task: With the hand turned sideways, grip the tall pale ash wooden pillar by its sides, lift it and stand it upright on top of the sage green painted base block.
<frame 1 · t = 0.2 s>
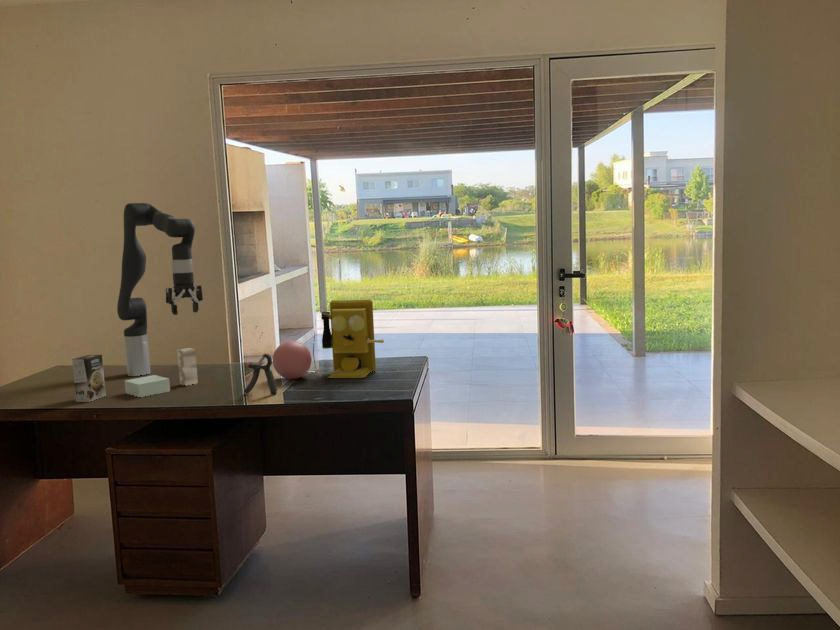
hand: (185, 313, 270), 29 cm above the table, tool pointing down, fingers open, 8 cm apart
vintage telephone: (347, 375, 285), on the table
coffee box: (91, 399, 261), on the table
base block: (148, 392, 268), on the table
balloon: (295, 378, 285), on the table
hand grip strengthener: (260, 394, 258), on the table
ash pillar: (189, 384, 280), on the table
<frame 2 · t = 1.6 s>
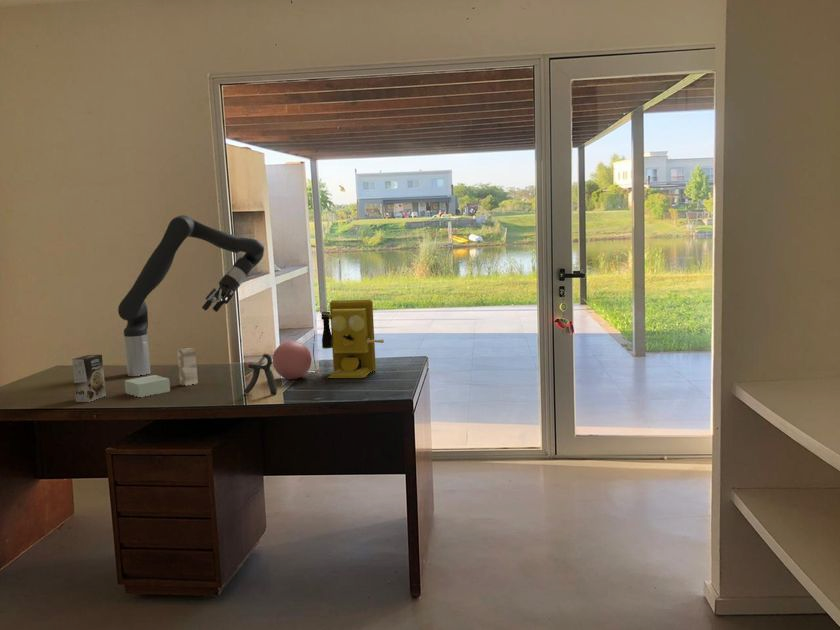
hand: (209, 309, 285), 29 cm above the table, tool tilted 45°, fingers open, 8 cm apart
nothing on the table moved.
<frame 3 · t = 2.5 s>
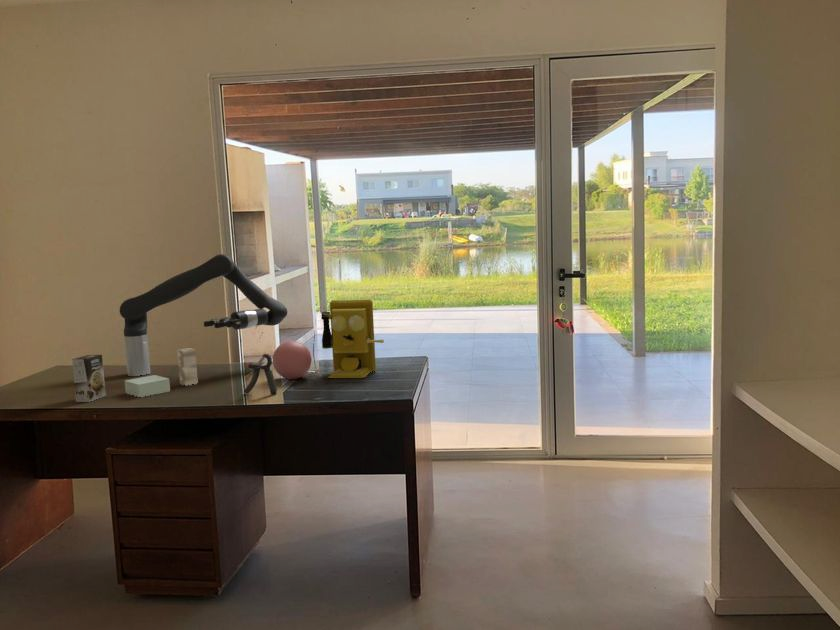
hand: (209, 325, 285), 22 cm above the table, tool horizontal, fingers open, 8 cm apart
nothing on the table moved.
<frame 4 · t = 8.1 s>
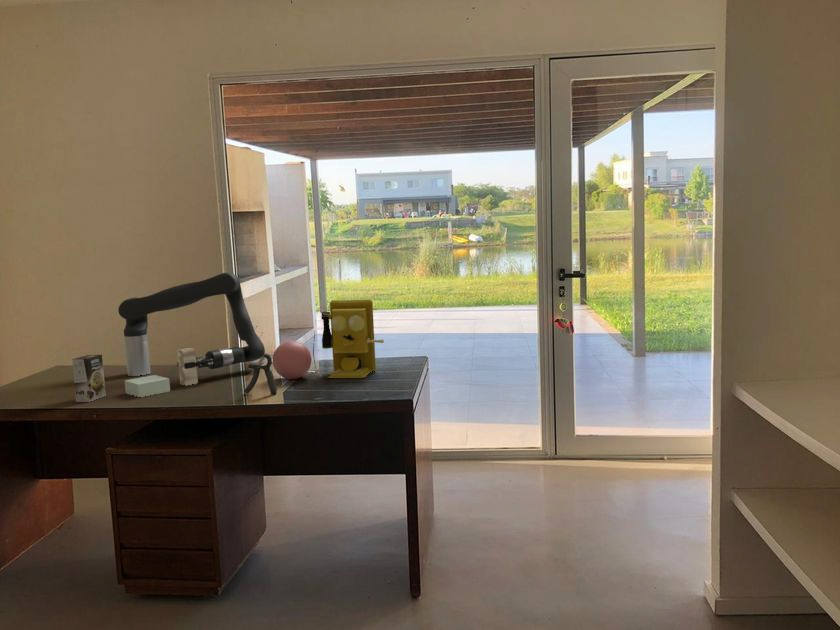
hand: (181, 365, 277), 8 cm above the table, tool horizontal, fingers closed on ash pillar, 5 cm apart
ash pillar: (189, 384, 280), on the table, touching gripper
everything else where it was.
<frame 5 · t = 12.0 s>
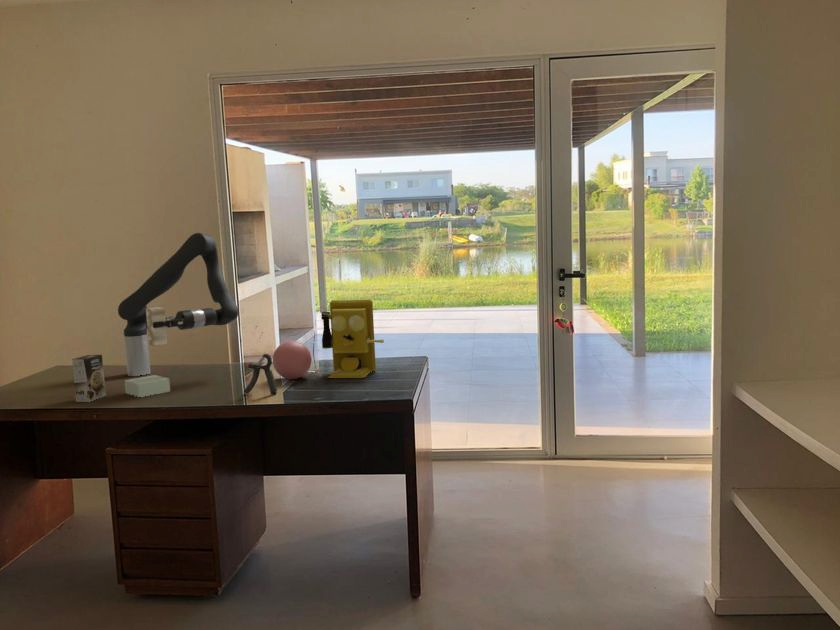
hand: (149, 324, 267), 26 cm above the table, tool horizontal, fingers closed on ash pillar, 5 cm apart
ash pillar: (158, 344, 270), point 18 cm above the table, touching gripper
everything else where it was.
when the fingers open (14 cm above the table, at t = 15.9 s): ash pillar drops 1 cm, resting on base block.
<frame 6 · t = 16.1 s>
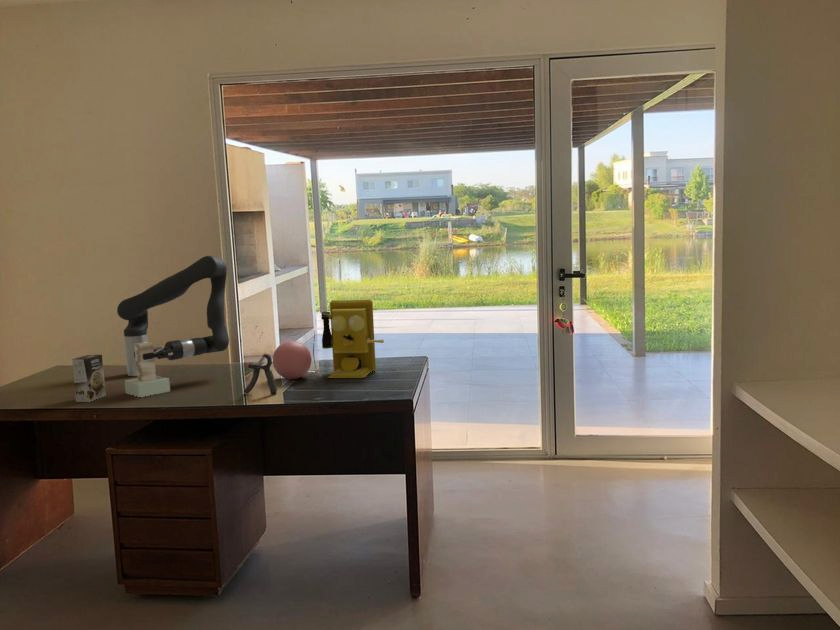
hand: (138, 356, 265), 14 cm above the table, tool horizontal, fingers open, 7 cm apart
ash pillar: (146, 379, 268), point 5 cm above the table, touching base block
everything else where it was.
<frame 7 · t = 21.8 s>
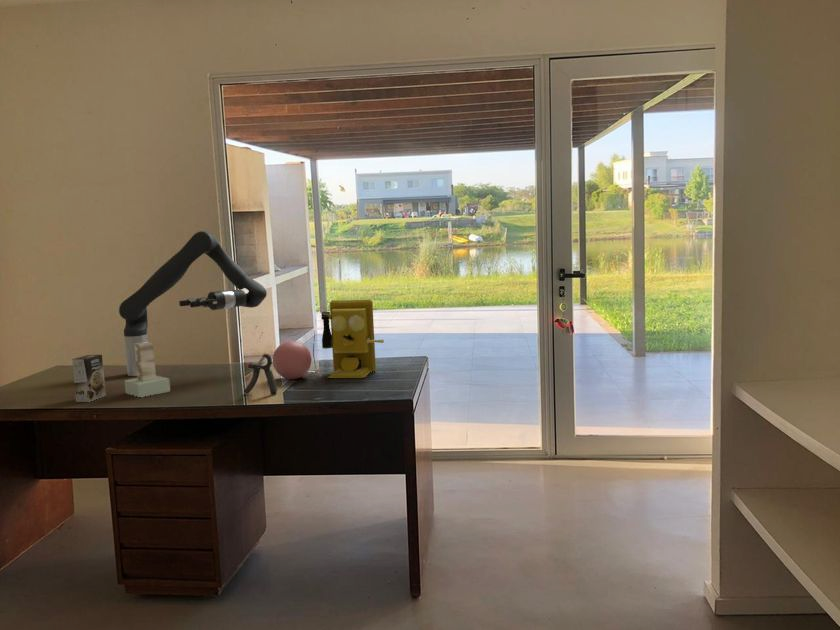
hand: (185, 304, 277), 32 cm above the table, tool horizontal, fingers open, 8 cm apart
nothing on the table moved.
at the end: ash pillar 0.1 cm off-centre on the base block, point 5.0 cm above the base block's base; ash pillar tilted 0°; the gripper is holding nothing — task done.
